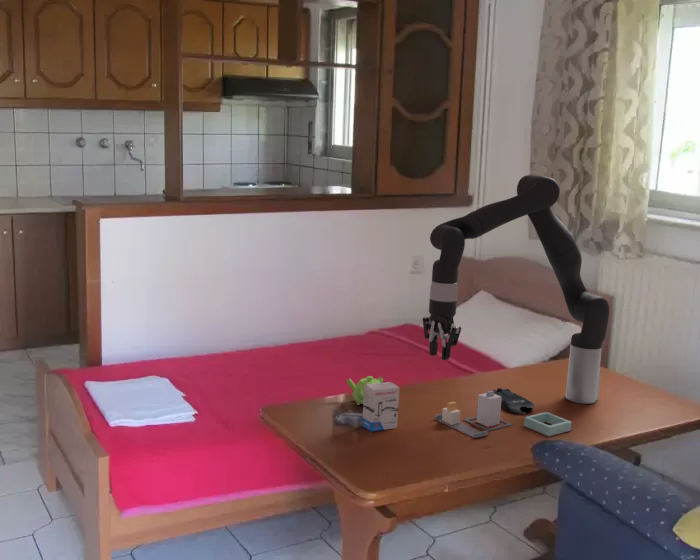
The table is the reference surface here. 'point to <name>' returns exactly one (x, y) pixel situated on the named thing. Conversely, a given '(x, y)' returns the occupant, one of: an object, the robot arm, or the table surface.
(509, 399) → the electronic device
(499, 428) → the grey square frame
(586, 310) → the robot arm
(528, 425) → the teal square tray
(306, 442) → the table surface
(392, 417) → the ink box
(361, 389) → the teapot
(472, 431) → the latch rail
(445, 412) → the latch tab
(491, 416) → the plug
